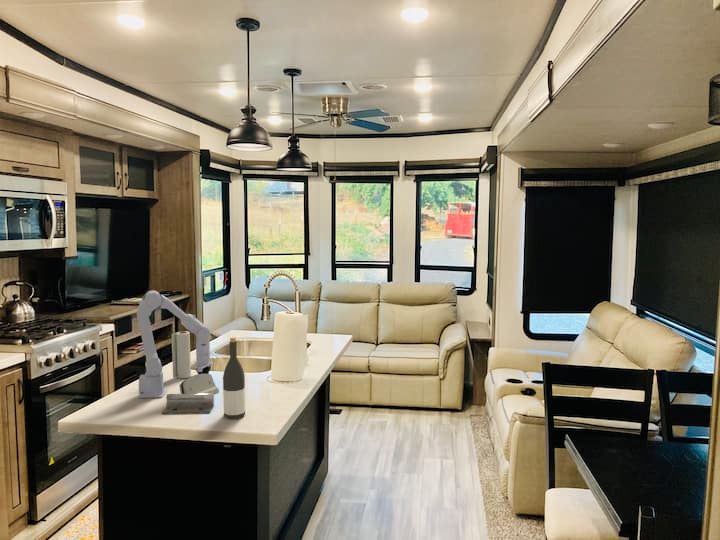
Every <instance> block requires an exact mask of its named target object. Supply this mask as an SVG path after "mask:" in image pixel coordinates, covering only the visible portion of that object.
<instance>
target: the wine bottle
mask: <svg viewBox="0 0 720 540" xmlns="http://www.w3.org/2000/svg"><path fill="white" fill-rule="evenodd" d="M237 342H238V341H237V338H236V337H234V336H233V337H230V338H229V342H228V343H229V360H228V361H227V363H226V366H225V368H224V371H223V376H222V390H223V391H222V392H223V393H222V394H223V395H222V396H223V416H224V418H226V419H228V420H238V419H241V417H242V418H244V417H245V415H246V384H245V383H246V381H245V377H246V375H245V372H244V368H243V366H242V364H241V362H240V361H239V358H238V356H237V355H238V354H237V353H238V352H237V350H238V349H237Z"/></svg>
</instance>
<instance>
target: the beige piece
mask: <svg viewBox="0 0 720 540" xmlns="http://www.w3.org/2000/svg"><path fill="white" fill-rule="evenodd" d="M179 391H180V393H179V394H212V393H214V395H215V394H217V393H219V392H220V391H219V388H218V386H216V383H215V381H214V378H213V375H212V374H210V373H209V374H198V373H197V374H194V375H191V377H188V378H185V379H184V380H183V381H181V383H179Z"/></svg>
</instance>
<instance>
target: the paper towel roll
mask: <svg viewBox="0 0 720 540" xmlns="http://www.w3.org/2000/svg"><path fill="white" fill-rule="evenodd" d="M190 333H191V332H190V331H187V330H186V331H178V332H174V333H171V353H172V355H171V357H172V358H171V359H172V379H175V378H178V379H187V378H189V377H191V376H192V367H191V366H192V364H191V363H192V362H191V359H192V358H191V334H190Z"/></svg>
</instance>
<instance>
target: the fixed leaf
mask: <svg viewBox="0 0 720 540" xmlns="http://www.w3.org/2000/svg"><path fill="white" fill-rule="evenodd" d="M165 401H166V407H165V408H164V409H163V410H162V412H161V413H162V415H170V414H169V413H173V414H172V415H181V414H180V413H192V414H211V412H212V411H213V408H214V407H215V394H214V393H212V394H181V393H172V394H171V393H167V394H166V400H165Z"/></svg>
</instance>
